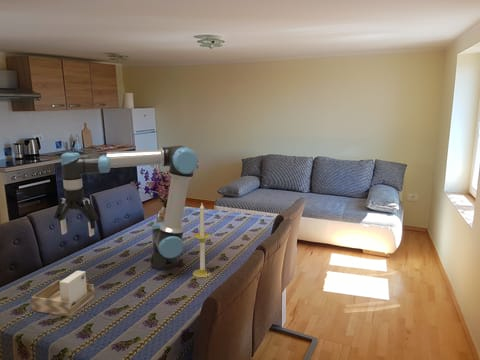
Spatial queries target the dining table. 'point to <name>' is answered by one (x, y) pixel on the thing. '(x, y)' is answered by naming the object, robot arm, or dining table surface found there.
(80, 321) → the dining table surface
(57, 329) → the dining table surface
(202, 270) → the candle
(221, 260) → the dining table surface
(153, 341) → the dining table surface
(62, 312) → the cabinet carcass
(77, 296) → the plain off-white rectangular block
